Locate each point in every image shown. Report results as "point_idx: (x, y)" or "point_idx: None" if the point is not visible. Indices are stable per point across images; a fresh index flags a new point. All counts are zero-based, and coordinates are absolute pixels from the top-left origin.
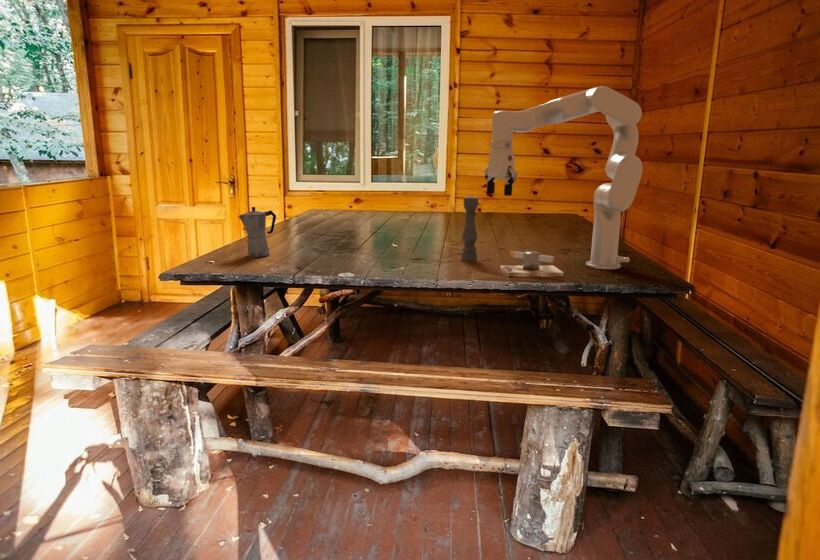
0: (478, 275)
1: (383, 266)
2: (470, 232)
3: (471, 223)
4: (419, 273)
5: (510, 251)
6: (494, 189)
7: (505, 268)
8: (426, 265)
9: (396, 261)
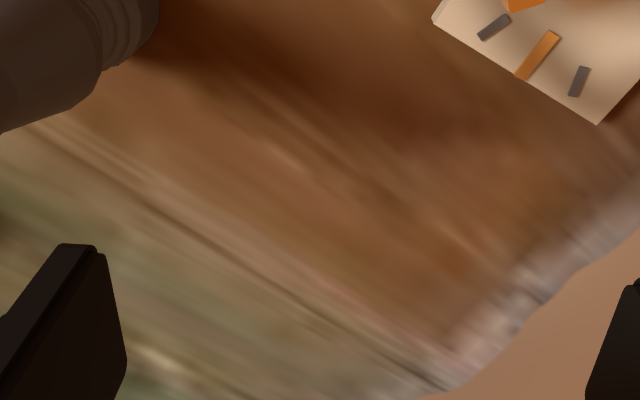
0: (463, 208)
1: None
2: (64, 97)
3: (12, 114)
4: (283, 362)
5: (509, 8)
6: (72, 300)
7: (531, 73)
8: (149, 265)
9: None
